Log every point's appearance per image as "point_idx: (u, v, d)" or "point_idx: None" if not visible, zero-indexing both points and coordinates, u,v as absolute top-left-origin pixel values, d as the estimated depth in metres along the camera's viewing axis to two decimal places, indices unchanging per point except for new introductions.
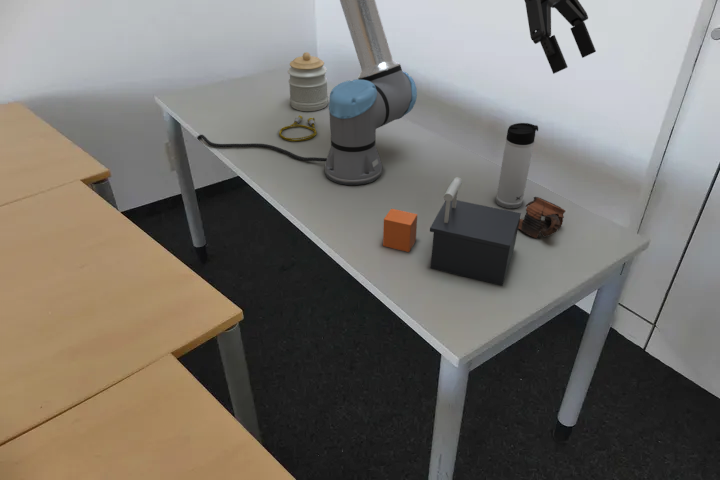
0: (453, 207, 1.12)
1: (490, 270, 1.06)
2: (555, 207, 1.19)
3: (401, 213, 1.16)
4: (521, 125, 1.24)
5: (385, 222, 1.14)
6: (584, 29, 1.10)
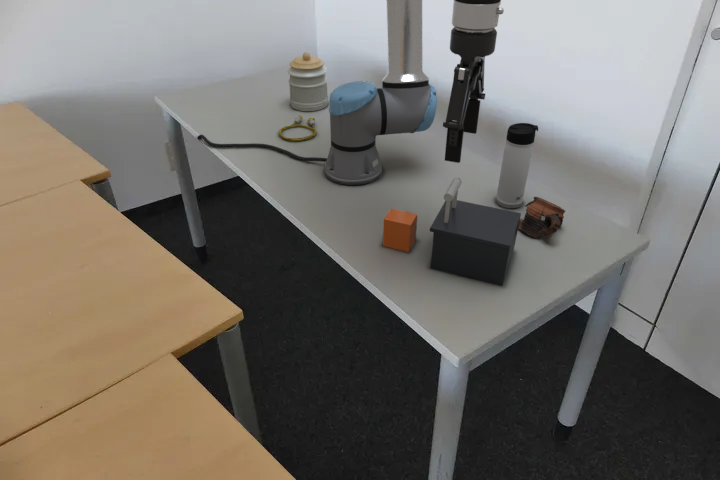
0: (453, 207, 1.12)
1: (490, 270, 1.06)
2: (555, 207, 1.19)
3: (401, 213, 1.16)
4: (521, 125, 1.24)
5: (385, 222, 1.14)
6: (477, 109, 1.04)
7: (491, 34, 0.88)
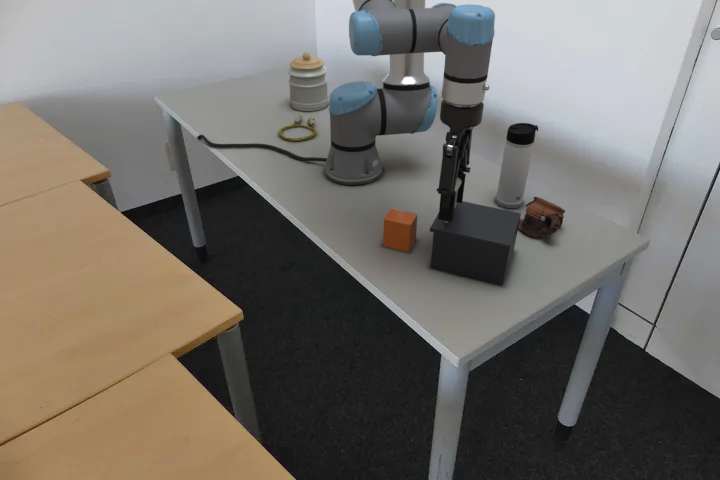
0: None
1: (490, 270, 1.06)
2: (555, 207, 1.19)
3: (401, 213, 1.16)
4: (521, 125, 1.24)
5: (385, 222, 1.14)
6: (463, 181, 1.09)
7: (478, 108, 0.94)
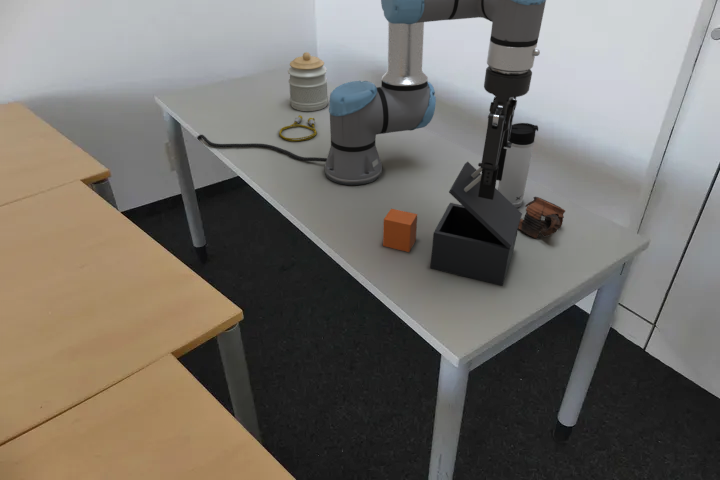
0: (472, 176, 1.07)
1: (490, 270, 1.06)
2: (555, 207, 1.19)
3: (401, 213, 1.16)
4: (521, 125, 1.24)
5: (385, 222, 1.14)
6: (504, 157, 1.03)
7: (526, 75, 0.88)
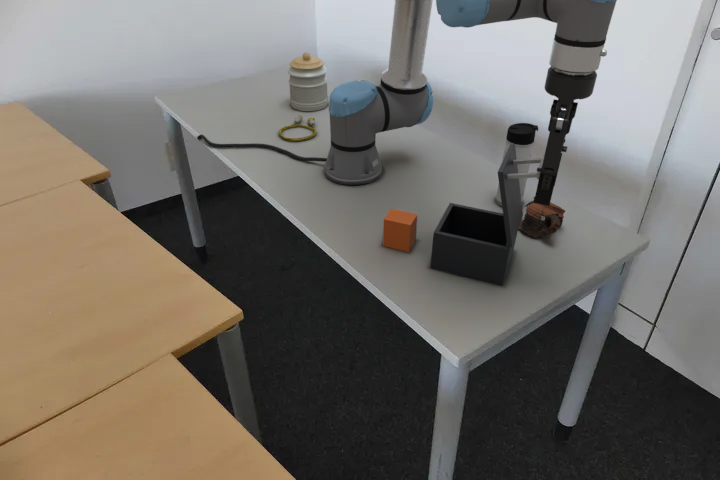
0: (514, 162, 1.02)
1: (490, 270, 1.06)
2: (555, 207, 1.19)
3: (401, 213, 1.16)
4: (521, 125, 1.24)
5: (385, 222, 1.14)
6: (559, 161, 0.99)
7: (592, 76, 0.85)
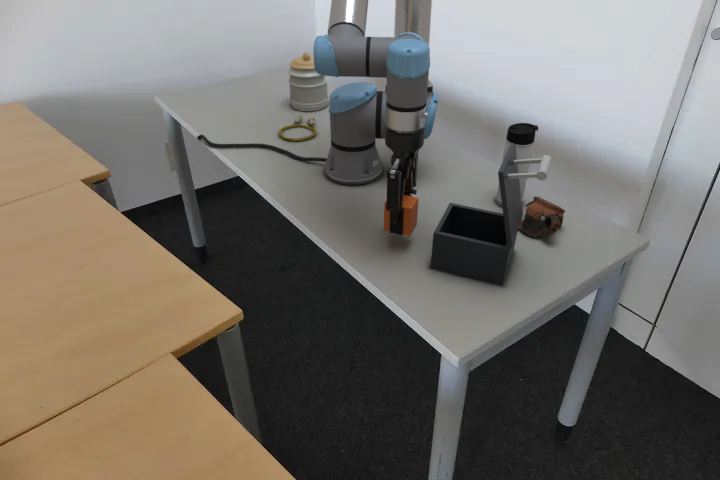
0: (514, 162, 1.02)
1: (490, 270, 1.06)
2: (555, 207, 1.19)
3: None
4: (521, 125, 1.24)
5: None
6: None
7: (418, 134, 1.01)
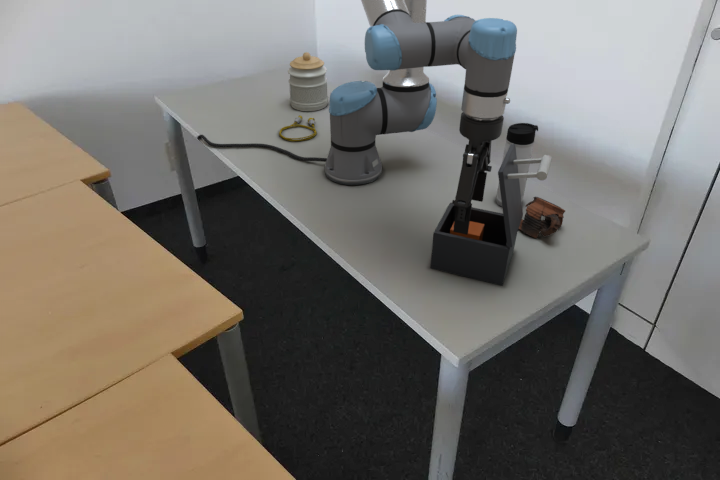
0: (514, 162, 1.02)
1: (490, 270, 1.06)
2: (555, 207, 1.19)
3: None
4: (521, 125, 1.24)
5: (452, 233, 1.10)
6: (484, 180, 1.10)
7: (498, 121, 0.94)
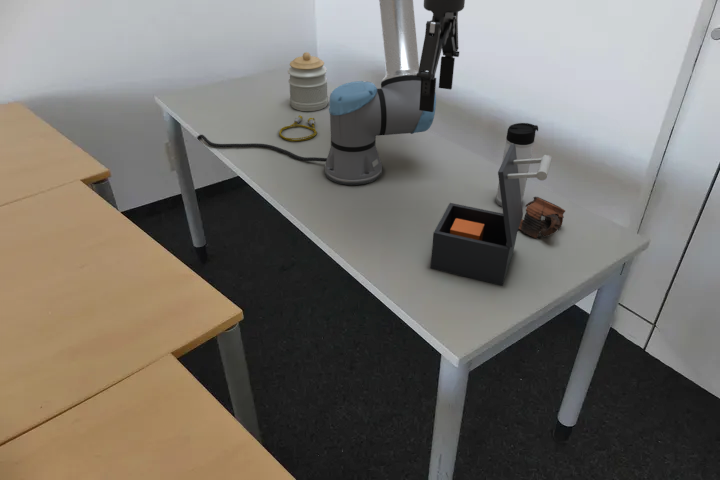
0: (514, 162, 1.02)
1: (490, 270, 1.06)
2: (555, 207, 1.19)
3: (467, 223, 1.11)
4: (521, 125, 1.24)
5: (452, 233, 1.10)
6: (452, 65, 1.13)
7: None
